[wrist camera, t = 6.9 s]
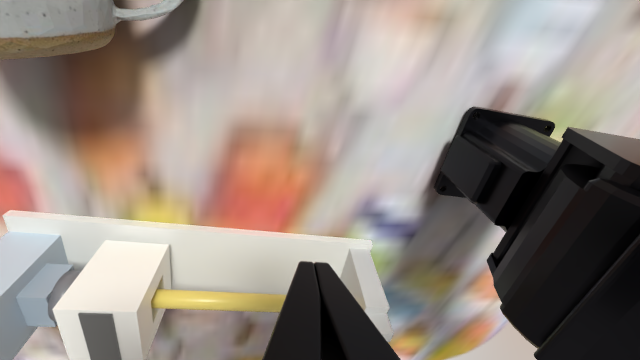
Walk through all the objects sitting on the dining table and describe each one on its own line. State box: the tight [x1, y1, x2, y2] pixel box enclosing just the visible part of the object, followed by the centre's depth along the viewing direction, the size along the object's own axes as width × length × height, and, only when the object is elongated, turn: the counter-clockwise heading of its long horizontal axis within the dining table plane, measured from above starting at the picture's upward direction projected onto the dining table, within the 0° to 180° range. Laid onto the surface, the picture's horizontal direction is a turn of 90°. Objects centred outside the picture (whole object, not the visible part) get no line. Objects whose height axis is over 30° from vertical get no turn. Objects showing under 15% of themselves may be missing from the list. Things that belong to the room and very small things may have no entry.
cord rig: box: [0, 210, 394, 360], centre depth 20 cm, size 25×7×7 cm, turn 79°
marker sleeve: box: [52, 240, 171, 360], centre depth 19 cm, size 4×5×6 cm
